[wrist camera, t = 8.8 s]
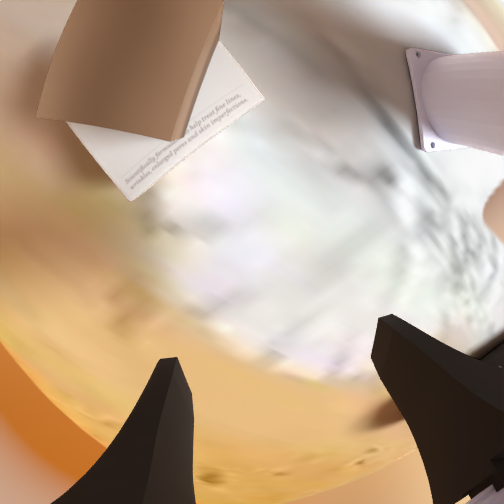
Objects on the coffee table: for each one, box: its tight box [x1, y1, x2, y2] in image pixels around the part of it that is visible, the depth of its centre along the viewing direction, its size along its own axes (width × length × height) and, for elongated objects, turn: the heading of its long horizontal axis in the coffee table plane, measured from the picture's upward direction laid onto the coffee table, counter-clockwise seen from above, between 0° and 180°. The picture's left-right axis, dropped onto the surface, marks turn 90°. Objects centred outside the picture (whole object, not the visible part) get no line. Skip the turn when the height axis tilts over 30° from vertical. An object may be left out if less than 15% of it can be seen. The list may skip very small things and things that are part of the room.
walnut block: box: [36, 0, 224, 142], centre depth 8 cm, size 5×5×4 cm
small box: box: [65, 40, 264, 202], centre depth 12 cm, size 8×8×5 cm
